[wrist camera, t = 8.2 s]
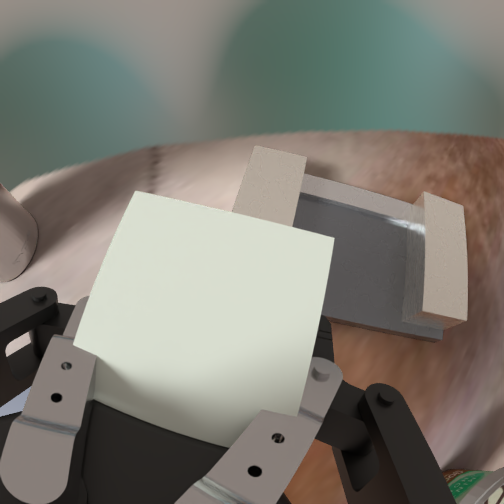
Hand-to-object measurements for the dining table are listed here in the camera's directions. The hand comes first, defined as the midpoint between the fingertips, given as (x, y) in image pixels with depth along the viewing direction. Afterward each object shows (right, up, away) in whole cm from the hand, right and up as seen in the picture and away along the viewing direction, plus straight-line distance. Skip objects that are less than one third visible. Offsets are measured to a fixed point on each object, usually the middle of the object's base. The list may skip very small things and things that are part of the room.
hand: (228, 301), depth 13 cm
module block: (-1, -3, +3) cm, 5 cm away
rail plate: (+10, +2, +18) cm, 21 cm away
